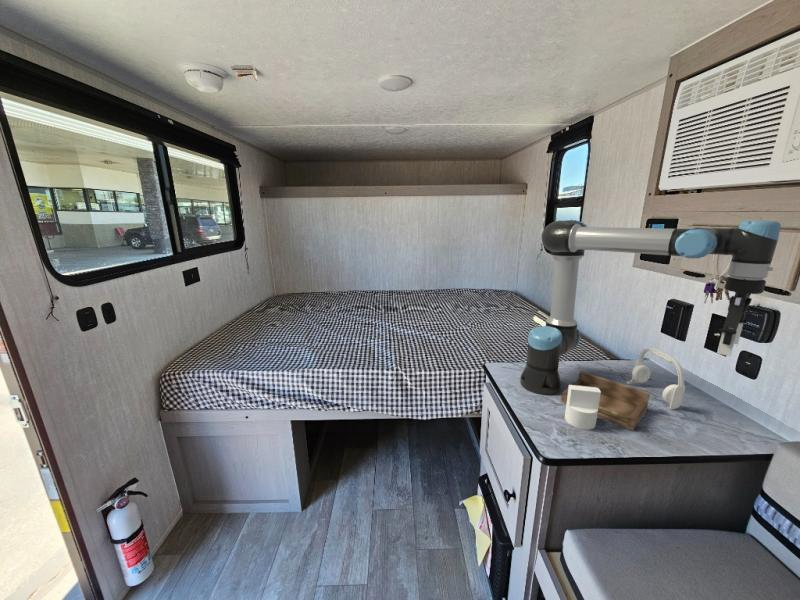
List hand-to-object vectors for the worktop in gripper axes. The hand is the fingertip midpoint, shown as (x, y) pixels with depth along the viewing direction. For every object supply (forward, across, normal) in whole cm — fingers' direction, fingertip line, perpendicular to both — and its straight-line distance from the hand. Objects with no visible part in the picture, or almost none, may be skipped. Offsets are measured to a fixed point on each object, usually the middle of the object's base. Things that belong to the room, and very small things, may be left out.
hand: (727, 348), depth 93 cm
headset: (+28, +11, +16) cm, 34 cm away
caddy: (+28, -12, +26) cm, 39 cm away
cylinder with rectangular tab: (+28, -27, +27) cm, 47 cm away
